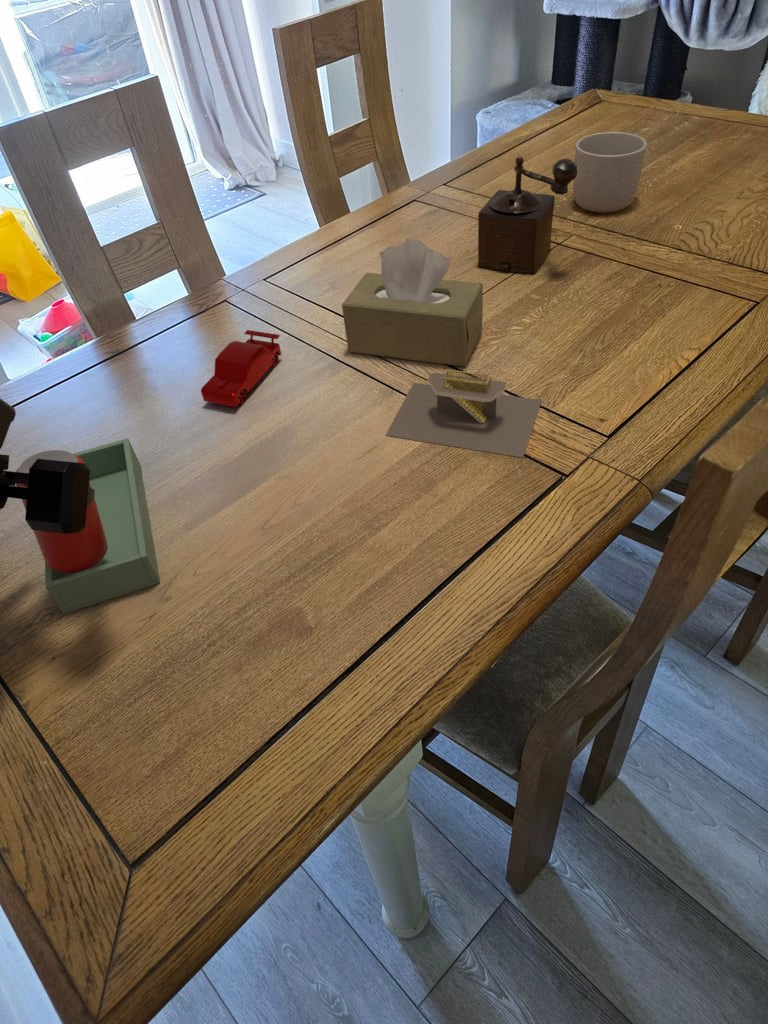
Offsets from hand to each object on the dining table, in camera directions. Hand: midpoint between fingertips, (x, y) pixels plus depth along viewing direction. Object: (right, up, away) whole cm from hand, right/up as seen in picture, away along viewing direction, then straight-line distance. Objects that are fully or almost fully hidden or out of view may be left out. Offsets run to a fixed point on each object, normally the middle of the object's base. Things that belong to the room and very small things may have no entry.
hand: (52, 490), depth 70 cm
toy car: (+13, +17, +32) cm, 39 cm away
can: (0, -6, +5) cm, 8 cm away
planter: (+75, +57, +63) cm, 114 cm away
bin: (0, -5, +12) cm, 13 cm away
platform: (+44, +10, +22) cm, 50 cm away
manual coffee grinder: (+58, +41, +50) cm, 88 cm away
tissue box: (+38, +23, +35) cm, 57 cm away
